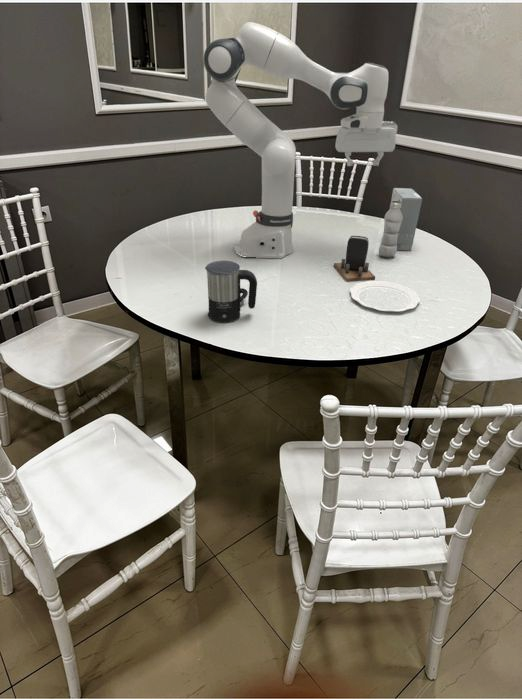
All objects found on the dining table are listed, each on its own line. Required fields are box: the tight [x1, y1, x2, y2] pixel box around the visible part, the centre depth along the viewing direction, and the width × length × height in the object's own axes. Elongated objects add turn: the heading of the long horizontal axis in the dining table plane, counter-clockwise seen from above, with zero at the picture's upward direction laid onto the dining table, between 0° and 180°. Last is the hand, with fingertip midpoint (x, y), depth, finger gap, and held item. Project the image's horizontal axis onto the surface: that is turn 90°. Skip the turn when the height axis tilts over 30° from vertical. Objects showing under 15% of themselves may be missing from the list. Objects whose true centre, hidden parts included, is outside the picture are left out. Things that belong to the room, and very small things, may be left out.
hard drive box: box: [389, 187, 423, 252], centre depth 182 cm, size 16×8×20 cm, turn 179°
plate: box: [349, 280, 421, 313], centre depth 145 cm, size 21×21×2 cm
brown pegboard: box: [333, 258, 376, 283], centre depth 160 cm, size 10×13×4 cm
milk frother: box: [204, 260, 258, 324], centre depth 133 cm, size 14×16×15 cm
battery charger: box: [344, 235, 370, 271], centre depth 158 cm, size 7×4×11 cm, turn 75°
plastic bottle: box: [378, 201, 403, 258], centre depth 170 cm, size 6×7×20 cm
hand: (362, 165), depth 161 cm, fingers open, 8 cm apart
